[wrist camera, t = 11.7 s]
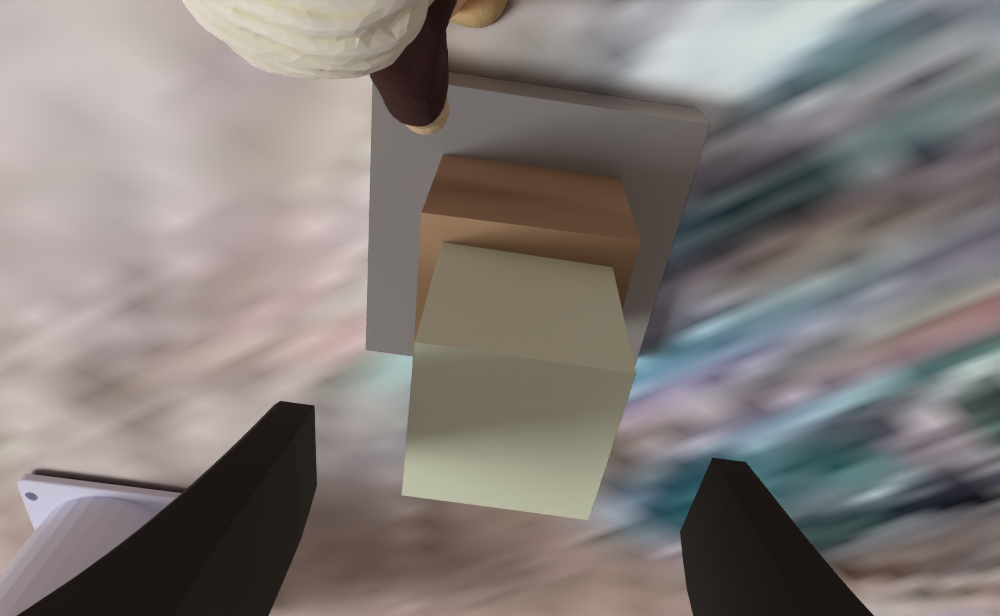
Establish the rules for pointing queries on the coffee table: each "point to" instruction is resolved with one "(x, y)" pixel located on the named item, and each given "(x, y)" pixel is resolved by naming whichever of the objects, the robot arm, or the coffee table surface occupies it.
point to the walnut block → (526, 217)
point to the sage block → (516, 382)
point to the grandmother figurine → (354, 44)
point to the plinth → (533, 142)
